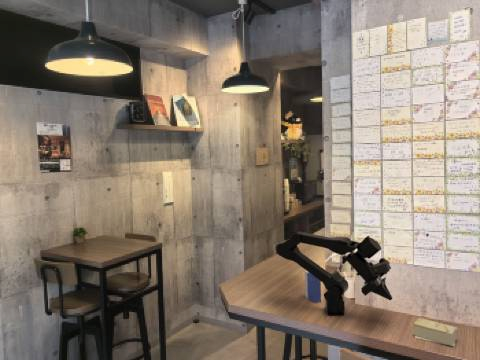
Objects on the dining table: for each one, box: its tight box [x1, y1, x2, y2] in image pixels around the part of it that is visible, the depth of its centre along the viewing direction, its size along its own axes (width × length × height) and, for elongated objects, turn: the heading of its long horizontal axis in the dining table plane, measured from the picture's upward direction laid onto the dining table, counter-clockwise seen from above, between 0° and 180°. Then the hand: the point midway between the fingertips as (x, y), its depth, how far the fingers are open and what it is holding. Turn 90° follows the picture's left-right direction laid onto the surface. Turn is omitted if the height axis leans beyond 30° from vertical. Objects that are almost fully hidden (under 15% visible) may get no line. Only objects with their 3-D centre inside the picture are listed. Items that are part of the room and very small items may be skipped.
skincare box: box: [413, 317, 458, 347], centre depth 133 cm, size 6×4×12 cm
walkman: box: [304, 270, 322, 304], centre depth 169 cm, size 8×3×12 cm, turn 25°
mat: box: [414, 335, 456, 347], centre depth 137 cm, size 12×14×1 cm
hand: (391, 299), depth 144 cm, fingers closed
